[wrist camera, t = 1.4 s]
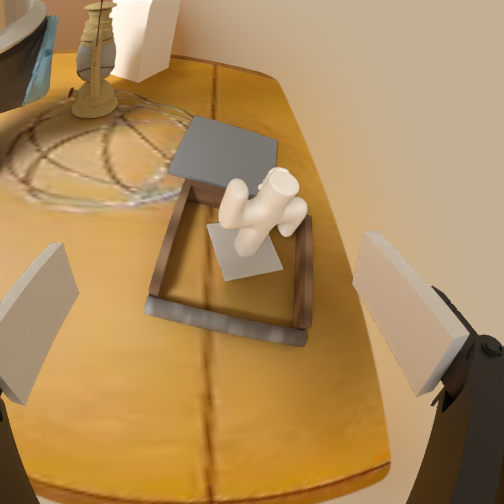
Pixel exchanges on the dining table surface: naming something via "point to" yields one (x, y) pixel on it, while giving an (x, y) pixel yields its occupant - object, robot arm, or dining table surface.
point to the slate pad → (223, 155)
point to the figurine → (255, 224)
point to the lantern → (96, 64)
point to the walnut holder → (226, 322)
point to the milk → (143, 37)
